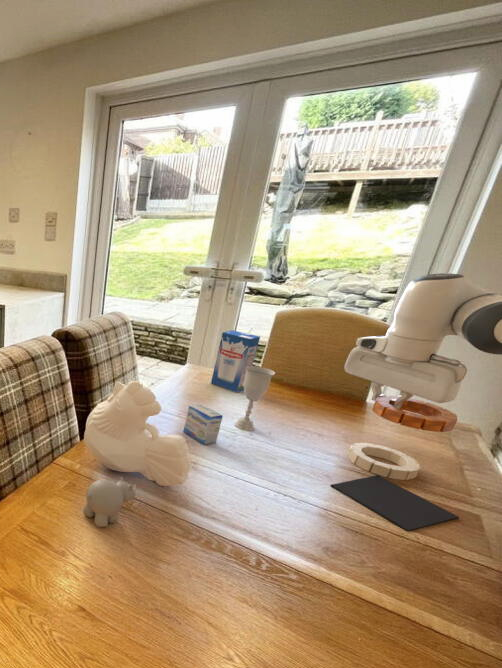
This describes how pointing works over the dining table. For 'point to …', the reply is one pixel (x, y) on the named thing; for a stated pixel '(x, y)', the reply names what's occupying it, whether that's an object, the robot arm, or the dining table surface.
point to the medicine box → (202, 424)
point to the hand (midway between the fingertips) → (385, 404)
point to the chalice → (254, 391)
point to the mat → (394, 502)
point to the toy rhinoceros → (107, 500)
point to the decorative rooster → (135, 437)
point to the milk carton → (234, 359)
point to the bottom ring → (404, 471)
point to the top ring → (431, 420)
